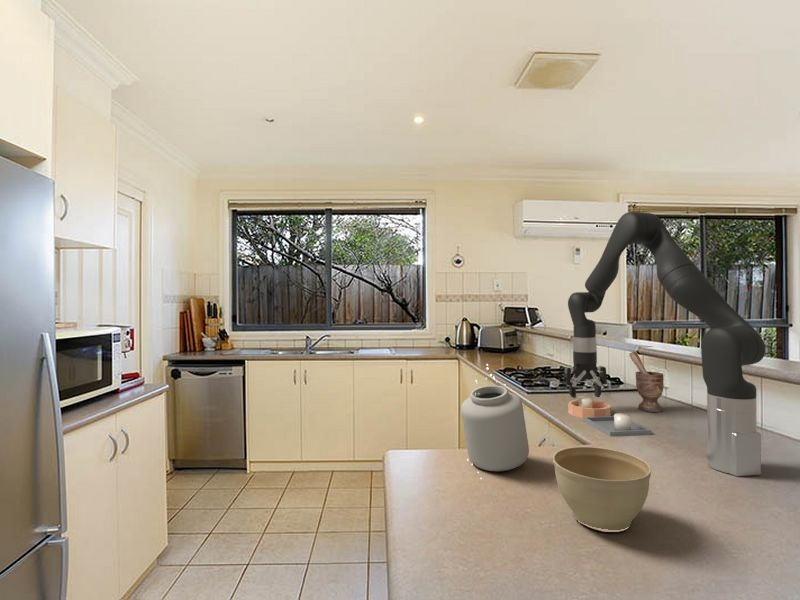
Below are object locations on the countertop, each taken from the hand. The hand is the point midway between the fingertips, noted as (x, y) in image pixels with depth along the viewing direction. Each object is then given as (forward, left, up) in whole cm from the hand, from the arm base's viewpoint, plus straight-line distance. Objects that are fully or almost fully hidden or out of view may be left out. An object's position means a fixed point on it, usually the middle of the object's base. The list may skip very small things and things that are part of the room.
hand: (585, 397), depth 149 cm
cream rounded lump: (0, 0, -5) cm, 5 cm away
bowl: (-2, 0, -6) cm, 6 cm away
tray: (-18, 0, -6) cm, 19 cm away
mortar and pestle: (+4, -24, -6) cm, 25 cm away
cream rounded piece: (-21, 0, -5) cm, 22 cm away
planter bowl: (-67, +33, -6) cm, 75 cm away
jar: (-40, +45, -6) cm, 61 cm away
